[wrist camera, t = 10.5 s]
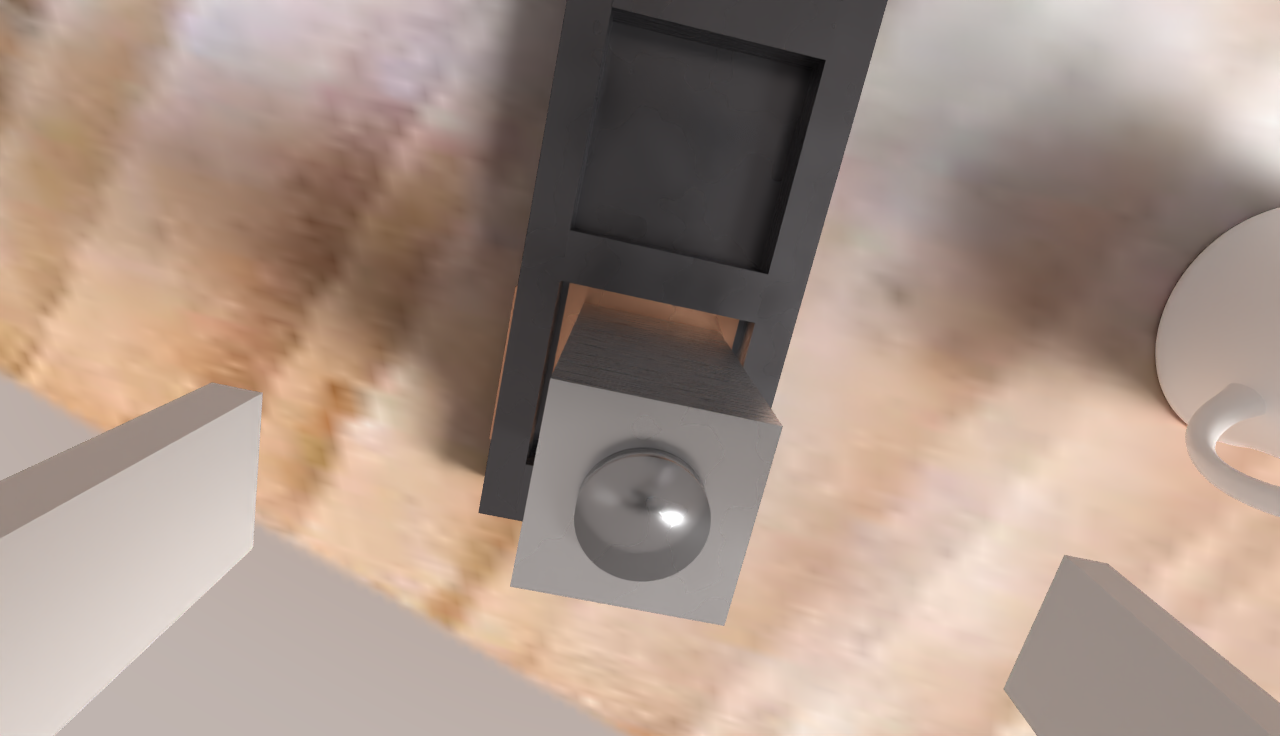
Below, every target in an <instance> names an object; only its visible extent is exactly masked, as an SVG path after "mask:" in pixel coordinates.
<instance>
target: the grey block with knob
mask: <svg viewBox="0 0 1280 736" xmlns="http://www.w3.org/2000/svg"><path fill="white" fill-rule="evenodd" d="M782 427H783V426H782V425H781V423H780V422H779V420H778V419H777V417H776V416H775V414H774V413H773V411H772V410H771V408H770V407H769V405H768V404H767V402H766V401H765V399H764V398H763V396H762V395H761V393H760V392H759V390H758V389H757V387H756V386H755V384H754V383H753V381H752V380H751V378H750V377H749V375H748V374H747V372H746V371H745V369H744V368H743V366H742V365H741V363H740V362H739V360H738V359H737V357H736V356H735V354H734V353H733V351H732V350H731V348H730V347H729V345H728V344H727V342H726V341H725V339H724V338H723V336H722V335H721V333H720V332H718V331H713V330H709V329H704V328H700V327H695V326H690V325H686V324H681V323H676V322H672V321H667V320H663V319H658V318H653V317H649V316H644V315H639V314H635V313H630V312H626V311H621V310H616V309H612V308H607V307H602V306H598V305H593V304H588V303H584V304H583V306H582V308H581V310H580V313H579V315H578V317H577V319H576V322H575V324H574V326H573V328H572V331H571V333H570V335H569V337H568V340H567V342H566V344H565V346H564V349H563V351H562V353H561V355H560V358H559V360H558V362H557V364H556V367H555V369H554V371H553V373H552V376H551V378H550V383H549V388H548V393H547V398H546V404H545V409H544V414H543V419H542V424H541V429H540V435H539V440H538V445H537V450H536V455H535V461H534V466H533V471H532V476H531V481H530V486H529V492H528V497H527V502H526V507H525V512H524V517H523V523H522V528H521V533H520V538H519V543H518V549H517V554H516V559H515V564H514V569H513V574H512V580H511V585H510V587H516V588H521V589H527V590H532V591H538V592H543V593H548V594H554V595H559V596H565V597H570V598H576V599H581V600H587V601H592V602H597V603H603V604H608V605H614V606H619V607H625V608H630V609H636V610H641V611H646V612H652V613H657V614H663V615H668V616H674V617H679V618H685V619H690V620H695V621H701V622H706V623H712V624H717V625H723V626H724V625H725V621H726V618H727V615H728V611H729V608H730V604H731V601H732V597H733V594H734V591H735V587H736V584H737V580H738V577H739V574H740V570H741V567H742V563H743V560H744V557H745V553H746V550H747V546H748V543H749V540H750V536H751V533H752V529H753V526H754V522H755V519H756V516H757V512H758V509H759V505H760V502H761V499H762V495H763V492H764V488H765V485H766V482H767V478H768V475H769V471H770V468H771V464H772V461H773V458H774V454H775V451H776V447H777V444H778V441H779V437H780V434H781V430H782Z"/></svg>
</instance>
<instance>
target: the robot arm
mask: <svg viewBox="0 0 1280 736" xmlns="http://www.w3.org/2000/svg"><path fill="white" fill-rule="evenodd" d="M262 395H263V393H261V392H256V391H251V390H246V389H241V388H236V387H231V386H226V385H221V384H216V383H210V384H208V385H206V386H204V387H201V388H199V389H197V390H195V391H193V392H191V393H188V394H186V395H184V396H182V397H180V398H178V399H176V400H173V401H171V402H169V403H167V404H165V405H163V406H161V407H158V408H156V409H154V410H152V411H150V412H148V413H145V414H143V415H141V416H139V417H137V418H135V419H133V420H130V421H128V422H126V423H124V424H122V425H120V426H117V427H115V428H113V429H111V430H109V431H107V432H105V433H102V434H100V435H98V436H96V437H94V438H92V439H90V440H87V441H85V442H83V443H81V444H79V445H77V446H75V447H72V448H70V449H68V450H66V451H64V452H62V453H59V454H57V455H55V456H53V457H51V458H49V459H47V460H45V461H42V462H40V463H38V464H36V465H34V466H32V467H29V468H27V469H25V470H23V471H21V472H19V473H16V474H14V475H12V476H10V477H8V478H6V479H3V480H1V481H0V736H54V735H55V734H56V733H58V732H59V731H60V730H61V729H62V728H63V727H64V726H65V725H66V724H67V723H68V722H69V721H70V720H71V719H72V718H73V717H74V716H76V715H77V714H78V713H79V712H80V711H81V710H82V709H83V708H84V707H85V706H86V705H87V704H88V703H89V702H90V701H92V700H93V699H94V698H95V697H96V696H97V695H98V694H99V693H100V692H101V691H102V690H103V689H104V688H105V687H106V686H107V685H108V684H110V683H111V682H112V681H113V680H114V679H115V678H116V677H117V676H118V675H119V674H120V673H121V672H122V671H123V670H124V669H125V668H126V667H127V666H129V665H130V664H131V663H132V662H133V661H134V660H135V659H136V658H137V657H138V656H139V655H140V654H141V653H142V652H143V651H145V650H146V649H147V648H148V647H149V646H150V645H151V644H152V643H153V642H154V641H155V640H156V639H157V638H158V637H159V636H160V635H161V634H162V633H164V632H165V631H166V630H167V629H168V628H169V627H170V626H171V625H172V624H173V623H174V622H175V621H176V620H177V619H178V618H180V617H181V615H183V614H184V613H185V612H186V611H187V610H188V609H189V608H190V607H191V606H192V605H193V604H194V603H195V602H196V601H197V600H199V598H201V597H202V596H203V595H204V594H205V593H206V592H207V591H208V590H209V589H210V588H211V587H212V586H213V585H214V584H215V583H217V582H218V581H219V580H220V579H221V578H222V577H223V576H224V575H225V574H226V573H227V572H228V571H229V570H230V569H231V568H233V566H234V565H236V564H237V563H238V562H239V561H240V560H241V559H242V558H243V557H244V556H245V555H246V554H247V553H248V552H249V551H250V550H252V549H253V538H254V522H255V506H256V490H257V474H258V459H259V443H260V427H261V411H262ZM1004 690H1005V692H1006V693H1007V695H1008V696H1009V697H1010V699H1011V700H1012V702H1013V703H1014V704H1015V706H1016V707H1017V708H1018V710H1019V711H1020V713H1021V714H1022V715H1023V717H1024V718H1025V720H1026V721H1027V722H1028V724H1029V725H1030V726H1031V728H1032V729H1033V731H1034V732H1035V733H1036V735H1037V736H1280V703H1279V702H1278V701H1277V700H1275V699H1274V698H1273V697H1272V696H1270V695H1269V694H1268V693H1267V692H1266V691H1264V690H1263V689H1262V688H1261V687H1259V686H1258V685H1257V684H1256V683H1254V682H1253V681H1252V680H1251V679H1249V678H1248V677H1247V676H1246V675H1245V674H1243V673H1242V672H1241V671H1240V670H1238V669H1237V668H1236V667H1235V666H1233V665H1232V664H1231V663H1230V662H1228V661H1227V660H1226V659H1225V658H1224V657H1222V656H1221V655H1220V654H1219V653H1217V652H1216V651H1215V650H1214V649H1212V648H1211V647H1210V646H1209V645H1207V644H1206V643H1205V642H1204V641H1203V640H1201V639H1200V638H1199V637H1198V636H1196V635H1195V634H1194V633H1193V632H1191V631H1190V630H1189V629H1188V628H1186V627H1185V626H1184V625H1183V624H1182V623H1180V622H1179V621H1178V620H1177V619H1175V618H1174V617H1173V616H1172V615H1170V614H1169V613H1168V612H1167V611H1165V610H1164V609H1163V608H1162V607H1161V606H1159V605H1158V604H1157V603H1156V602H1154V601H1153V600H1152V599H1151V598H1149V597H1148V596H1147V595H1146V594H1144V593H1143V592H1142V591H1141V590H1140V589H1138V588H1137V587H1136V586H1135V585H1133V584H1132V583H1131V582H1130V581H1128V580H1127V579H1126V578H1125V577H1123V576H1122V575H1121V574H1120V573H1119V572H1117V571H1116V570H1115V569H1114V568H1112V567H1111V566H1110V565H1109V564H1107V563H1102V562H1097V561H1092V560H1087V559H1082V558H1077V557H1072V556H1067V555H1064V557H1063V559H1062V562H1061V564H1060V566H1059V568H1058V570H1057V572H1056V575H1055V577H1054V579H1053V581H1052V583H1051V586H1050V588H1049V590H1048V592H1047V594H1046V597H1045V599H1044V601H1043V603H1042V605H1041V608H1040V610H1039V612H1038V614H1037V616H1036V619H1035V621H1034V623H1033V625H1032V627H1031V630H1030V632H1029V634H1028V636H1027V638H1026V641H1025V643H1024V645H1023V647H1022V649H1021V652H1020V654H1019V656H1018V658H1017V660H1016V663H1015V665H1014V667H1013V669H1012V671H1011V673H1010V676H1009V678H1008V680H1007V682H1006V684H1005V687H1004Z"/></svg>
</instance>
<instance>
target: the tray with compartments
mask: <svg viewBox="0 0 1280 736" xmlns="http://www.w3.org/2000/svg"><path fill="white" fill-rule="evenodd" d="M887 1H888V0H567V3H566V9H565V15H564V21H563V27H562V32H561V38H560V44H559V50H558V56H557V61H556V67H555V73H554V79H553V85H552V90H551V96H550V102H549V108H548V113H547V119H546V125H545V131H544V137H543V142H542V148H541V154H540V160H539V166H538V171H537V177H536V183H535V189H534V195H533V200H532V206H531V212H530V218H529V223H528V229H527V235H526V241H525V247H524V252H523V258H522V264H521V270H520V276H519V281H518V285H517V286H516V287H515V292H514V298H513V304H512V309H511V315H510V321H509V327H508V333H507V338H506V344H505V350H504V356H503V362H502V368H501V373H500V379H499V385H498V391H497V397H496V402H495V408H494V414H493V420H492V426H491V432H490V437H489V439H491V443H490V449H489V455H488V461H487V467H486V472H485V478H484V484H483V490H482V496H481V501H480V507H479V513H482V514H487V515H492V516H498V517H503V518H508V519H513V520H519V521H523V517H524V512H525V507H526V502H527V497H528V492H529V486H530V481H531V476H532V471H533V466H534V461H535V455H536V450H537V445H538V440H539V435H540V429H541V424H542V419H543V414H544V409H545V404H546V398H547V393H548V388H549V383H550V378H551V376H552V373H553V371H554V369H555V367H556V364H557V362H558V360H559V358H560V355H561V353H562V351H563V349H564V346H565V344H566V342H567V340H568V337H569V335H570V333H571V331H572V328H573V326H574V324H575V322H576V319H577V317H578V315H579V313H580V310H581V308H582V306H583V304H584V303H588V304H593V305H598V306H602V307H607V308H612V309H616V310H621V311H626V312H630V313H635V314H639V315H644V316H649V317H653V318H658V319H663V320H667V321H672V322H676V323H681V324H686V325H690V326H695V327H700V328H704V329H709V330H713V331H718V332H720V333H721V335H722V336H723V338H724V339H725V341H726V342H727V344H728V345H729V347H730V348H731V350H732V351H733V353H734V354H735V356H736V357H737V359H738V360H739V362H740V363H741V365H742V366H743V368H744V369H745V371H746V372H747V374H748V375H749V377H750V378H751V380H752V381H753V383H754V384H755V386H756V387H757V389H758V390H759V392H760V393H761V395H762V396H763V398H764V399H765V401H766V402H767V404H768V405H769V407H770V408H771V407H772V403H773V400H774V396H775V393H776V389H777V386H778V382H779V379H780V375H781V372H782V368H783V365H784V361H785V358H786V354H787V351H788V347H789V344H790V340H791V337H792V333H793V330H794V326H795V323H796V319H797V316H798V312H799V309H800V305H801V302H802V298H803V295H804V291H805V288H806V284H807V281H808V277H809V274H810V270H811V267H812V263H813V260H814V256H815V253H816V249H817V246H818V242H819V239H820V235H821V232H822V228H823V225H824V221H825V218H826V214H827V211H828V207H829V204H830V200H831V197H832V193H833V190H834V186H835V183H836V179H837V176H838V172H839V169H840V165H841V162H842V158H843V155H844V151H845V148H846V144H847V141H848V137H849V134H850V130H851V127H852V123H853V120H854V116H855V113H856V109H857V106H858V102H859V99H860V95H861V92H862V88H863V85H864V81H865V78H866V74H867V71H868V67H869V64H870V60H871V57H872V53H873V50H874V46H875V43H876V39H877V36H878V32H879V29H880V25H881V22H882V18H883V15H884V11H885V8H886V4H887Z"/></svg>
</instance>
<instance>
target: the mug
mask: <svg viewBox="0 0 1280 736" xmlns="http://www.w3.org/2000/svg"><path fill="white" fill-rule="evenodd" d="M1155 357H1156V369H1157V375H1158V379H1159V383H1160V386H1161V388H1162V391H1163V393H1164V395H1165V397H1166V399H1167V401H1168V403H1169V404H1170V406H1171V407H1172V409H1173V410H1174V411H1175V413H1176V414H1177V415H1178V416H1179V417H1180V418H1181V419H1182V420H1183V421H1184V422H1185V423H1186V424H1187V425H1188V426H1187V429H1186V436H1185V439H1186V447H1187V451H1188V454H1189V456H1190V458H1191V460H1192V462H1193V464H1194V465H1195V467H1196V468H1197V469H1198V471H1199V472H1200V473H1201V474H1202V475H1203V476H1204V477H1205V478H1206V479H1207V480H1208V481H1209V482H1210V483H1212V484H1213V485H1214V486H1215V487H1217V488H1218V489H1220V490H1221V491H1223V492H1224V493H1226V494H1228V495H1229V496H1231V497H1233V498H1235V499H1237V500H1238V501H1240V502H1242V503H1245V504H1247V505H1249V506H1251V507H1254V508H1256V509H1258V510H1261V511H1263V512H1266V513H1269V514H1272V515H1275V516H1278V517H1280V487H1279V486H1275V485H1272V484H1269V483H1266V482H1263V481H1260V480H1258V479H1255V478H1252V477H1250V476H1248V475H1246V474H1243V473H1241V472H1239V471H1238V470H1236V469H1234V468H1232V467H1231V466H1229V465H1228V464H1226V463H1225V462H1224V461H1223V460H1221V459H1220V458H1219V456H1218V455H1217V454H1216V451H1215V445H1216V442H1217V441H1219V442H1222V443H1225V444H1229V445H1234V446H1239V447H1246V448H1252V449H1255V450H1258V451H1261V452H1264V453H1266V454H1269V455H1272V456H1274V457H1277V458H1279V459H1280V207H1279V208H1275V209H1272V210H1269V211H1266V212H1263V213H1261V214H1258V215H1256V216H1254V217H1251V218H1249V219H1247V220H1245V221H1243V222H1242V223H1240V224H1238V225H1236V226H1235V227H1233V228H1231V229H1230V230H1228V231H1227V232H1225V233H1224V234H1223V235H1221V236H1220V237H1219V238H1217V239H1216V240H1215V241H1214V242H1212V243H1211V244H1210V245H1209V246H1208V247H1207V248H1206V249H1205V250H1204V251H1203V252H1202V253H1201V254H1200V255H1199V256H1198V257H1197V258H1196V259H1195V260H1194V261H1193V262H1192V263H1191V265H1190V266H1189V267H1188V268H1187V270H1186V271H1185V272H1184V274H1183V275H1182V277H1181V278H1180V279H1179V281H1178V283H1177V284H1176V286H1175V288H1174V289H1173V291H1172V293H1171V295H1170V297H1169V299H1168V301H1167V303H1166V306H1165V308H1164V311H1163V314H1162V317H1161V320H1160V324H1159V328H1158V332H1157V339H1156V350H1155Z"/></svg>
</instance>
